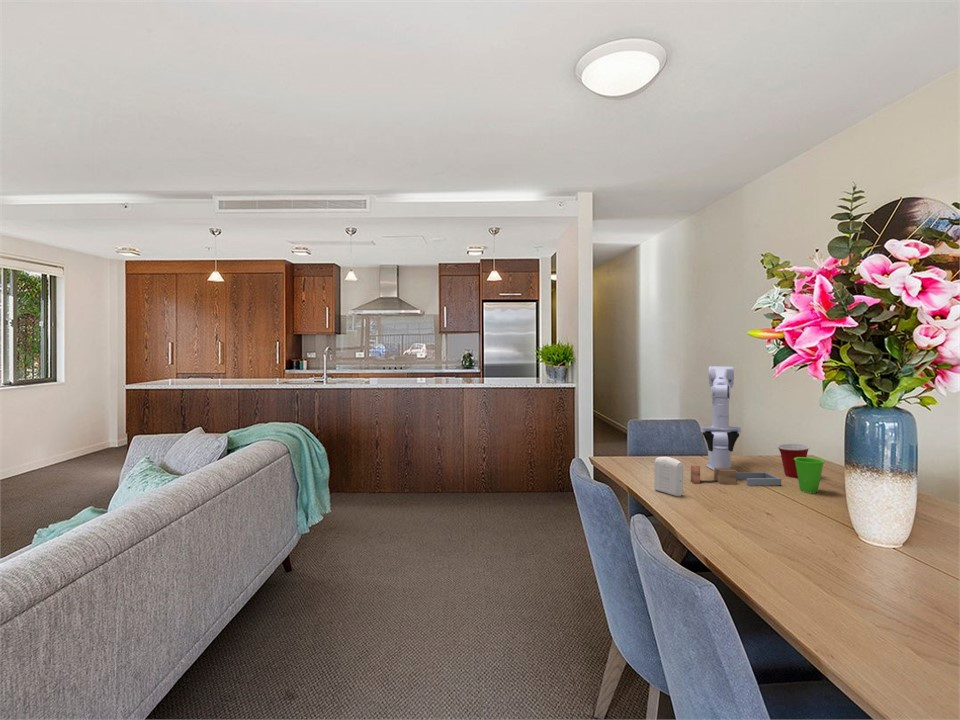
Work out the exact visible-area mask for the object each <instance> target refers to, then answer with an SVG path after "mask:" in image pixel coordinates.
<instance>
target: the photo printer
mask: <svg viewBox="0 0 960 720" xmlns="http://www.w3.org/2000/svg"><path fill="white" fill-rule="evenodd" d="M683 464H684V463H683V462H681V461H680V460H678V459H677V458H674V457H670V456H659V457H656V458H655V460H654V490H655V491H659V492H662V493H665V494H668V495H671V496H676V497H681V495H682V496H683V494H684V465H683Z"/></svg>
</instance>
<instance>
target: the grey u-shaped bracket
mask: <svg viewBox="0 0 960 720" xmlns="http://www.w3.org/2000/svg"><path fill="white" fill-rule="evenodd" d="M737 480H746V486H747V485H748V486H747V487H757V486H756V485H781V486H782V478H780V477H778V476H776V475H774V474H772V473H769V472H768V471H757V472H756V471H754V472H753V471H751V472H750V471H749V472H748V471H742V472H741V471H737Z"/></svg>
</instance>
